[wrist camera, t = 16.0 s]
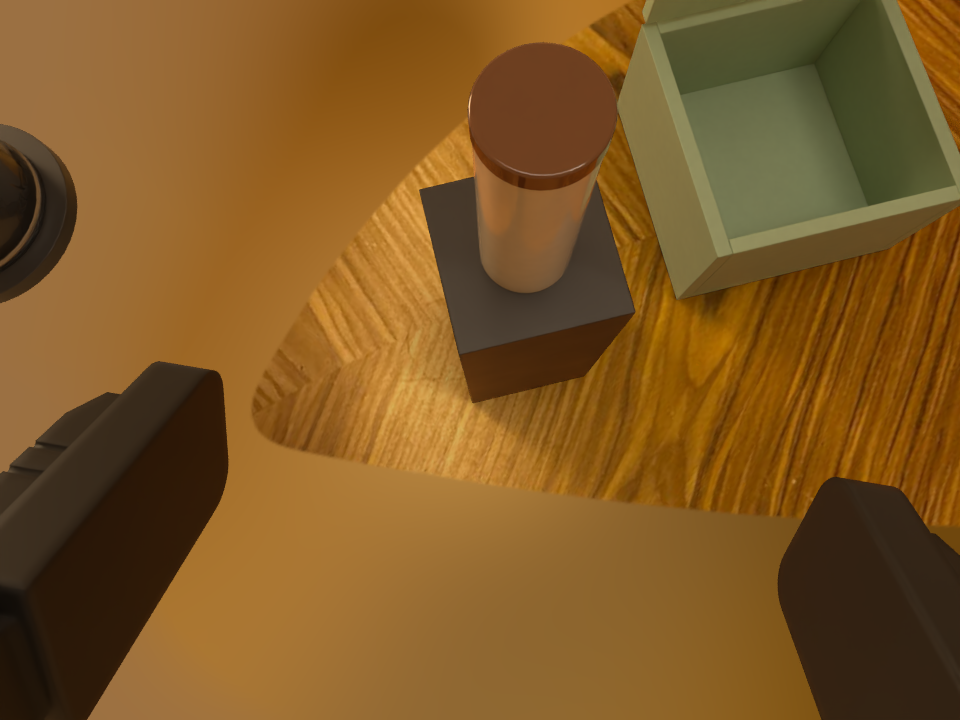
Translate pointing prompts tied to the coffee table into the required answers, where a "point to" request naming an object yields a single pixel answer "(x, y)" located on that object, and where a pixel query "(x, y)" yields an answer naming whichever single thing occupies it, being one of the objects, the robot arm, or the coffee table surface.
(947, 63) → the coffee table surface
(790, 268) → the chest
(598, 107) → the canister
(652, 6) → the chest lid
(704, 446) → the coffee table surface
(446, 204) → the block
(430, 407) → the coffee table surface
